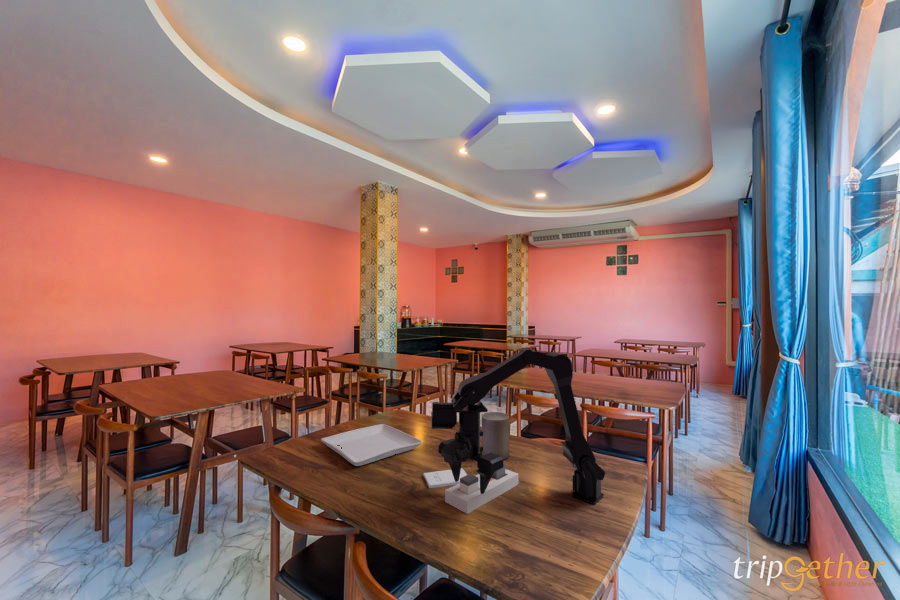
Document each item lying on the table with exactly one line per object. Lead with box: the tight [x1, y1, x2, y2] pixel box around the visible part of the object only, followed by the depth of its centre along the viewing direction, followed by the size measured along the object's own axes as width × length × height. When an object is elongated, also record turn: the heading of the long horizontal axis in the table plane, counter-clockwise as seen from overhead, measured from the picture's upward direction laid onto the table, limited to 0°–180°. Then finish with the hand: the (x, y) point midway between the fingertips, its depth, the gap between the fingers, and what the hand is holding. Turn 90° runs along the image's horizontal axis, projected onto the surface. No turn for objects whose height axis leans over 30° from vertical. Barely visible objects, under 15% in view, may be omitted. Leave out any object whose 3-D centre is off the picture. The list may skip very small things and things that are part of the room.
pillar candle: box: [480, 411, 510, 461], centre depth 126 cm, size 10×10×15 cm
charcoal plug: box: [491, 462, 506, 480], centre depth 104 cm, size 3×4×6 cm
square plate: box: [320, 423, 423, 467], centre depth 131 cm, size 27×27×4 cm
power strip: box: [444, 468, 519, 515], centre depth 100 cm, size 8×22×4 cm, turn 135°
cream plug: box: [460, 473, 478, 495], centre depth 95 cm, size 3×4×6 cm
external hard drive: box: [422, 467, 468, 489], centre depth 107 cm, size 2×8×12 cm
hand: (469, 487), depth 95 cm, fingers open, 9 cm apart
